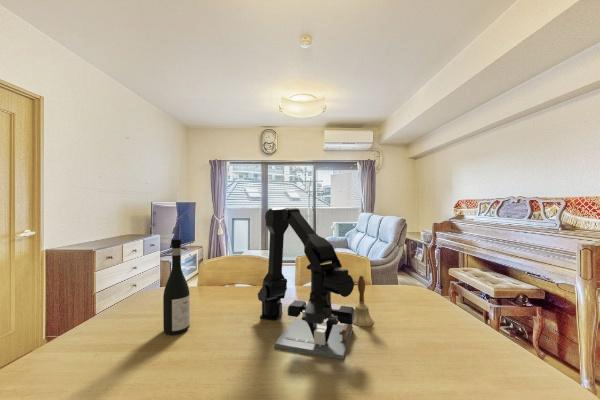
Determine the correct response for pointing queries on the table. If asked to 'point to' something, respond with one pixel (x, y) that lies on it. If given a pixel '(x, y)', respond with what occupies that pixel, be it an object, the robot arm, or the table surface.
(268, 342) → the table surface
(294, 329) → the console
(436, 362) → the table surface
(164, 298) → the wine bottle
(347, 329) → the door
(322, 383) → the table surface
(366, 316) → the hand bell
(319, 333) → the fader
